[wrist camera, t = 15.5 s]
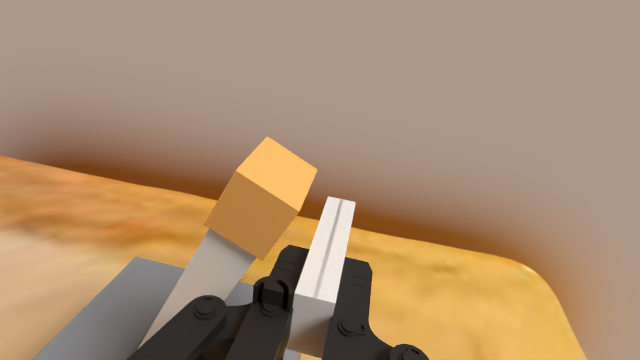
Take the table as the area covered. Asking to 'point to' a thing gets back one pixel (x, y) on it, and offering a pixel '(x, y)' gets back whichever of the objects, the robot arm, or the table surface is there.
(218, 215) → the breaker lever
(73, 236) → the table surface
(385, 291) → the table surface
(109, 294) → the grey power plug
